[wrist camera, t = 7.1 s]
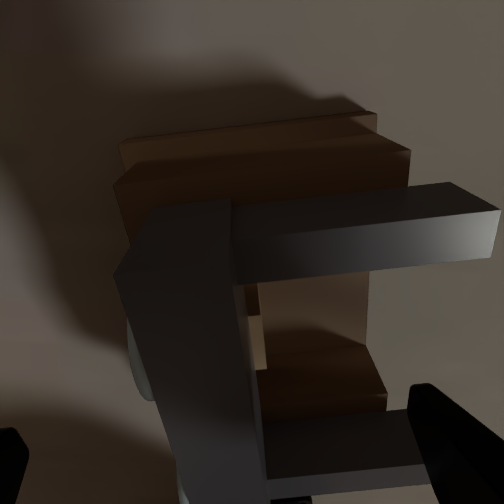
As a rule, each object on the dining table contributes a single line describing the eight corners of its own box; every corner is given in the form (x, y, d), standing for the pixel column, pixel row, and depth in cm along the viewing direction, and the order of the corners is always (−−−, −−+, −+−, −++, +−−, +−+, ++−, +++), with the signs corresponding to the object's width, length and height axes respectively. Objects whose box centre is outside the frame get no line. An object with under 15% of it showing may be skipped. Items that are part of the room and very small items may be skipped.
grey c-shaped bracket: (411, 431, 12) (459, 533, 10) (207, 452, 12) (198, 559, 10) (451, 173, 8) (556, 225, 5) (142, 208, 8) (97, 276, 6)
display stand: (357, 383, 15) (382, 450, 13) (191, 401, 15) (181, 471, 13) (367, 110, 10) (413, 125, 8) (120, 140, 10) (80, 165, 8)
